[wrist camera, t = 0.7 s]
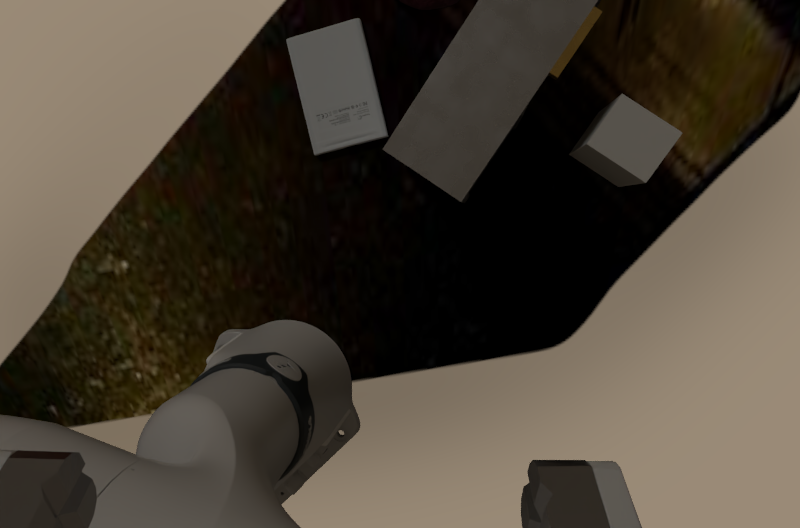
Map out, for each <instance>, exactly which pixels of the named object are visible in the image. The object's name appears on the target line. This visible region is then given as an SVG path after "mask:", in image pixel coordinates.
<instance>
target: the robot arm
mask: <svg viewBox="0 0 800 528" xmlns="http://www.w3.org/2000/svg"><path fill="white" fill-rule="evenodd" d="M206 362H207V366H206V368H205V371H204V372H203V373H202V374H201V375H200V376H199V377H198V378H197V379H196V380H195V381H194V382H193V383H192V384H191V385H190V387H189V388H187V389H185V390H184V391H182V392H181V393H179V394H178V395H176V396H174V397H173V398H171V399H169V400H168V401H166V402H165V403H163V404H162V405H161V406H160V407H159V408H158V409H157V410H156V411H155V412H154V413H153V414H152V416H151V418H150V419H149V420H148V422H147V424H146V425H145V427H144V429H143V431H142V433H141V436H140V438H139V441H138V446H137V452H136V454H133V453H130V452H128V451H125V450H123V449H120V448H117V447H115V446H112V445H110V444H107V443H105V442H102V441H100V440H97V439H94V438H92V437H89V436H87V435H84V434H81V433H79V432H76V431H74V430H71V429H69V428H66V427H64V426H61V425H58V424H55V423H51V422H45V421H39V420H33V419H27V418H21V417H15V416H7V415H0V528H300V527H299V526H298V525H297V524H296V523H295V522H294V520H293V519H292V518H291V517H290V516H289V515H288V514H287V512H286V511H285V510H284V508H283V507H282V505H281V504H282V503H283V502H284V501H285V500H287V499H288V498H289V497H290V496H291V495H292V494H295V493H296V492H297V491H298V490H299V489H300V488H301V487H302V485H303V484H304V483H305V482H306V481H307V480H308V479H309V478H310V477H311V476H312V475H313V474H314V473H315V472H316V471H317V470H318V469H319V468H320V467H322V466H323V464H325V463H326V462H327V461H328V460H329V459H330V458H331V457H332V456H333V455H334V454H335V453H336V452H337V451H338V450H339V449H341V448H342V447H343V446H344V445H345V444H346V443H347V442H348V441H349V440H350V439H351V438H352V437H353V436H354V435H355V434H356V433H357V432H358V431H359V428H360V421H359V417H358V414H357V412H356V410H355V407H354V405H353V403H352V381H351V374H350V370H349V366H348V364H347V361H346V359H345V357H344V355H343V353H342V351H341V350H340V348H339V347H338V346H337V344H336V343H335V342H334V341H333V340H332V339H331V338H330V337H329V336H328V335H327V334H325V333H324V332H322V331H321V330H319V329H318V328H316V327H314V326H312V325H309V324H307V323H304V322H300V321H294V320H278V321H273V322H269V323H266V324H263V325H261V326H258V327H256V328H253V329H249V330H246V329H231V330H227V331H225V332H223V333H222V334H221V335H220V336H219V338H218V340H217V343H216V346H215V348H214V351H213V353H212V354H211V355H210V356H209V357H208V358H207V360H206ZM339 430H342V431H344V435H340V434H339V432H338V431H339ZM528 477H529V482H530V483H528V484H527V485H526V486H524V488H523V493H522V498H521V517H522V527H523V528H642V527H641V524H640V521H639V518H638V516H637V513H636V510H635V507H634V505H633V502H632V499H631V496H630V494H629V491H628V488H627V485H626V482H625V480H624V477H623V474H622V471H621V469H620V467H619V466H618V464H617V463H616V462H613V461H585V460H533V461H532V462H531V463H530V465H529V469H528Z"/></svg>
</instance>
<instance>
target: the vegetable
mask: <svg viewBox="0 0 800 528" xmlns="http://www.w3.org/2000/svg"><path fill="white" fill-rule="evenodd" d="M399 1H400V2H401V3H404V4H406V5H408V6H410V7H413V8H415V9H419V10H432V9H439V8H444V7H448V6H451V5H453V4H455V3H457V2H458V1H460V0H399Z"/></svg>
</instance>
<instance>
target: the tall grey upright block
mask: <svg viewBox="0 0 800 528" xmlns="http://www.w3.org/2000/svg"><path fill="white" fill-rule="evenodd" d="M681 134H682V132H681V131H679V130H678V129H676V128H675V127H673V126H671V125H670V124H668V123H667V122H665V121H664V120H662V119H661V118H659V117H658V116H656V115H655V114H653V113H651V112H650V111H648V110H647V109H645V108H644V107H642V106H641V105H639V104H638V103H636V102H634V101H633V100H631V99H630V98H628V97H627V96H625V95H624V94H621V95H620V96H618V97H617V98H616V99H615V100H613V101H612V102H611V103H610V104H608V105H607V106H606V107H605V108H603V109H602V110H601V111H600V112H598V114H597V115H596V117H595V118H594V119H593V121H592V122H591V124H590V125H589V127H588V128H587V129H586V131H585V132H584V134H583V135H582V137H581V138H580V139H579V141H578V142H577V144H576V145H575V146H574V148H573V149H572V151H571V152H570V154H569V155H570V156H572V157H574V158H575V159H577V160H578V161H580V162H581V163H583V164H584V165H586V166H587V167H589V168H590V169H592V170H593V171H595V172H596V173H598V174H599V175H601V176H602V177H604V178H605V179H607V180H608V181H610V182H611V183H613V184H614V185H616V186H618V187H622V186H629V185H636V184H642V183H646V182H647V181H648V179H649V178H650V177H651V175H652V174H653V173H654V171H655V170H656V169H657V167H658V166H659V164H660V163H661V162H662V160H663V159H664V158H665V156H666V155H667V154H668V152H669V151H670V149H671V148H672V147H673V145H674V144H675V143H676V141H677V140H678V138H679V137H680V136H681Z"/></svg>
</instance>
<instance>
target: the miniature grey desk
mask: <svg viewBox="0 0 800 528" xmlns="http://www.w3.org/2000/svg"><path fill="white" fill-rule="evenodd" d="M600 1H601V0H478V2H477V3H476V5H475V6H474V8H473V10H472V11H471V13H470V14H469V16H468V17H467V19H466V20H465V22H464V24H463V25H462V27H461V28H460V30H459V31H458V33H457V34H456V36H455V38H454V39H453V41H452V42H451V44H450V45H449V47H448V48H447V50H446V52H445V53H444V55H443V56H442V58H441V59H440V61H439V62H438V64H437V66H436V67H435V69H434V70H433V72H432V73H431V75H430V76H429V78H428V80H427V81H426V83H425V84H424V86H423V87H422V89H421V90H420V92H419V94H418V95H417V97H416V98H415V100H414V101H413V103H412V104H411V106H410V108H409V109H408V111H407V112H406V114H405V115H404V117H403V118H402V120H401V122H400V123H399V125H398V126H397V128H396V129H395V131H394V132H393V134H392V136H391V137H390V139H389V140H388V142H387V143H386V145H385V146H384V148H383V150H384V151H386V152H387V153H389V154H390V155H392V156H393V157H395V158H396V159H398V160H399V161H401V162H402V163H404V164H405V165H407V166H408V167H410V168H411V169H413V170H414V171H416V172H417V173H419V174H420V175H422V176H423V177H424V178H426V179H427V180H429V181H430V182H432V183H433V184H435V185H436V186H438V187H439V188H441V189H442V190H444V191H445V192H447V193H448V194H450V195H451V196H453V197H454V198H456V199H457V200H459V201H460V202H462V203H465V202H466V201H467V199H468V198H469V196H470V194H469V193H470V192H471V190H472V189H473V187H474V186H475V184H476V183H477V181H478V180H479V178H480V177H481V175H482V174H483V172H484V171H485V170H486V168H487V167H488V165H489V164H490V162H491V161H492V159H493V158H494V156H495V155H496V153H497V152H498V150H499V149H500V147H501V146H502V144H503V143H504V142H505V140H506V139H507V137H508V136H509V134H510V133H511V131H512V129H513V130H515V129H516V127H517V126H518V124H519V123H520V121H521V119H522V117H523V115H524V113H525V111H526V109H527V107H528V105H529V102H530V101H531V99H532V98H533V96H534V95H535V93H536V92H537V90H538V89H539V87H540V86H541V84H542V83H543V81H544V80H545V79H546V77H547V76H548V75H549V76H550V77H552V78H553V79H555V80H557V78H558V77H559V75H560V74H561V72H562V71H563V69H564V68H565V66H566V65H567V64H568V62H569V61H570V59H571V58H572V56H573V55H574V53H575V52H576V50H577V49H578V47H579V46H580V44H581V43H582V42H583V40H584V39H585V37H586V36H587V34H588V33H589V31H590V30H591V28H592V27H593V25H594V24H595V22H596V21H597V20H598V18H599V17H600V15H601V14H602V12H603V11H601V10H599V9H598V8H597V6H598V5H599V3H600ZM468 192H469V193H468Z"/></svg>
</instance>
